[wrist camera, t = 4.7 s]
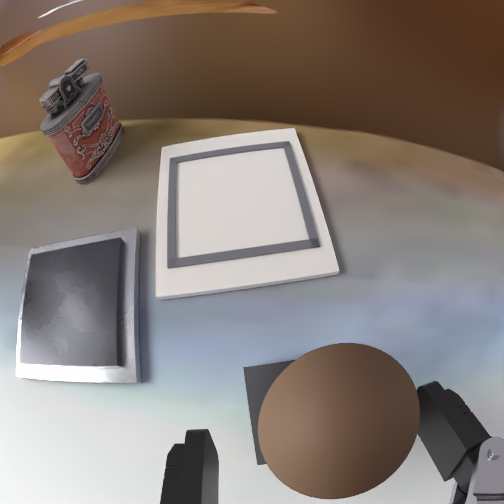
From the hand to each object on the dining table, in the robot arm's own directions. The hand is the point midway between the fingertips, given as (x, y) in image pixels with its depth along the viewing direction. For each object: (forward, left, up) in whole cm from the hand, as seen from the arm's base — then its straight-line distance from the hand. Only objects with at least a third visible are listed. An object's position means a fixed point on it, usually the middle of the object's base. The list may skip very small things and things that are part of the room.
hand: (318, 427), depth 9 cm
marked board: (-2, +15, -7) cm, 17 cm away
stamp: (0, 0, -7) cm, 7 cm away
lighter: (-15, +24, -7) cm, 30 cm away
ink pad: (-15, +8, -7) cm, 18 cm away
